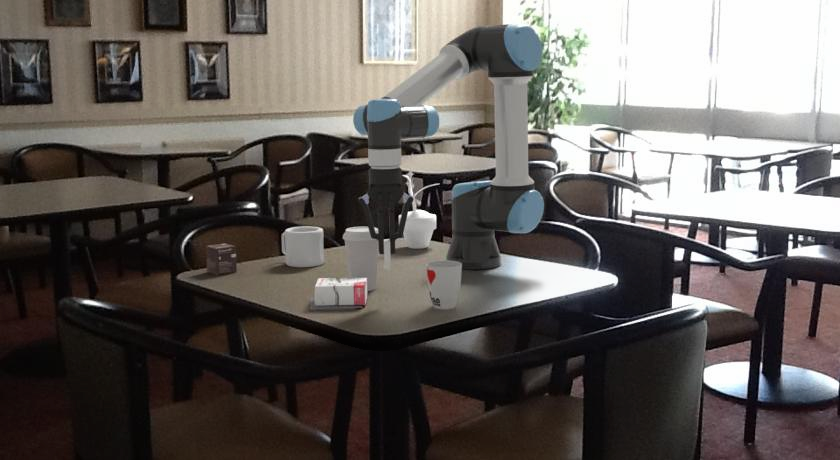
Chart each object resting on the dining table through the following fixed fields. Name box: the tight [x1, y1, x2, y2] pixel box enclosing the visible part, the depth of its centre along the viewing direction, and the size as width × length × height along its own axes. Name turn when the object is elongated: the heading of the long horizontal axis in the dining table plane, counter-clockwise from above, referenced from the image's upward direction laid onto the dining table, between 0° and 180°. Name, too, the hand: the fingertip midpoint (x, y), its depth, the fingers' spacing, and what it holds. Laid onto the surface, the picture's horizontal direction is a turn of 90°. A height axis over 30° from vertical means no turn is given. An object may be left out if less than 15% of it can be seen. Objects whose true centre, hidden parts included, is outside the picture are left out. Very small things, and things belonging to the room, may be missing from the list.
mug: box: [281, 225, 325, 268], centre depth 272 cm, size 14×11×10 cm
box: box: [205, 243, 238, 276], centre depth 262 cm, size 6×6×7 cm
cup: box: [425, 260, 463, 310], centre depth 220 cm, size 8×8×10 cm
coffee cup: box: [342, 226, 379, 292], centre depth 239 cm, size 10×10×15 cm
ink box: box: [314, 277, 368, 306], centre depth 225 cm, size 9×5×12 cm
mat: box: [309, 297, 363, 311], centre depth 225 cm, size 12×11×1 cm
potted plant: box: [398, 168, 440, 250], centre depth 293 cm, size 13×12×25 cm
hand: (387, 267), depth 225 cm, fingers closed
